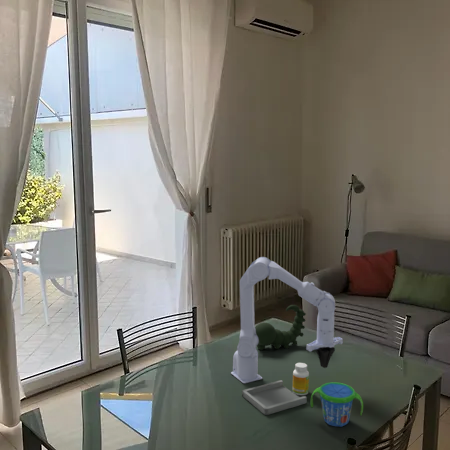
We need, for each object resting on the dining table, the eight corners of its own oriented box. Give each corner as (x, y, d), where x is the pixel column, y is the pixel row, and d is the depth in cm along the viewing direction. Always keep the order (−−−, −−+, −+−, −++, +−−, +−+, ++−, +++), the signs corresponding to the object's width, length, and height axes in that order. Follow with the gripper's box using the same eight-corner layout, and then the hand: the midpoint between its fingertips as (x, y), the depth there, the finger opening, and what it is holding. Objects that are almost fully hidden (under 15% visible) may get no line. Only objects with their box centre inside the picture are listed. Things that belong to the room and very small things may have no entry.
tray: (242, 396, 169) (242, 390, 168) (281, 385, 176) (281, 380, 176) (265, 415, 157) (265, 409, 156) (306, 403, 164) (306, 397, 164)
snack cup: (306, 423, 152) (307, 391, 151) (315, 407, 162) (316, 377, 160) (358, 436, 146) (360, 403, 144) (364, 418, 155) (366, 387, 154)
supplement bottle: (308, 396, 169) (309, 369, 167) (291, 394, 170) (292, 367, 168) (308, 389, 174) (309, 362, 172) (292, 387, 175) (293, 361, 174)
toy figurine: (295, 344, 218) (241, 345, 210) (300, 301, 216) (245, 301, 208) (305, 352, 210) (249, 354, 201) (310, 308, 207) (254, 308, 199)
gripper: (316, 336, 167) (315, 375, 169) (349, 329, 174) (347, 366, 176) (303, 330, 173) (301, 367, 175) (335, 323, 180) (334, 359, 182)
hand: (324, 366), depth 176 cm, fingers closed
